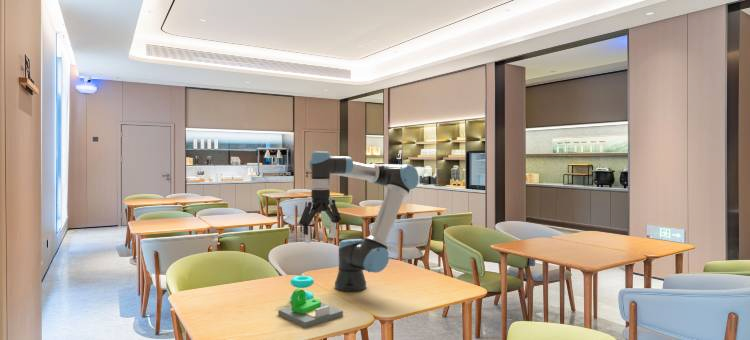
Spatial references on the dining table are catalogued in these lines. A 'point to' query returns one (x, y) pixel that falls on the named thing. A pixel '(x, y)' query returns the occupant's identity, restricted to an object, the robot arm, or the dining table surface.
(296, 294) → the mechanical part
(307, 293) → the donuts
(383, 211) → the robot arm
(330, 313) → the grey square plate
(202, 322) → the dining table surface
